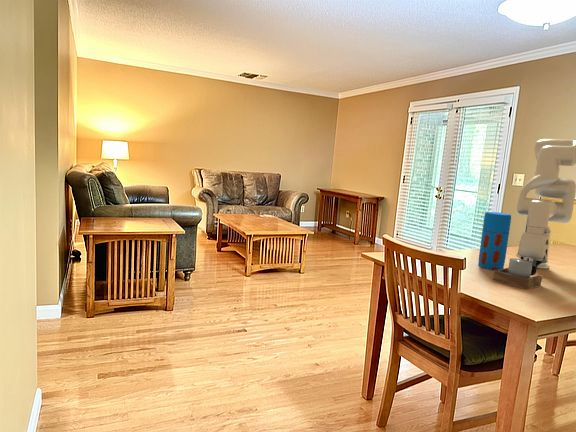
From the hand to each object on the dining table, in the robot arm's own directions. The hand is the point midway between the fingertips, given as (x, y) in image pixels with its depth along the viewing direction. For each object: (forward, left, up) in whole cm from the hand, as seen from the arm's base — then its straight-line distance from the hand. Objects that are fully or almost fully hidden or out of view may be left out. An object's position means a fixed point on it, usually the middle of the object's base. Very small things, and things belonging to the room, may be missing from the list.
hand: (529, 274), depth 170 cm
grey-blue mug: (+6, 0, -3) cm, 7 cm away
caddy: (+9, 0, -3) cm, 10 cm away
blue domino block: (-5, -19, -3) cm, 20 cm away
